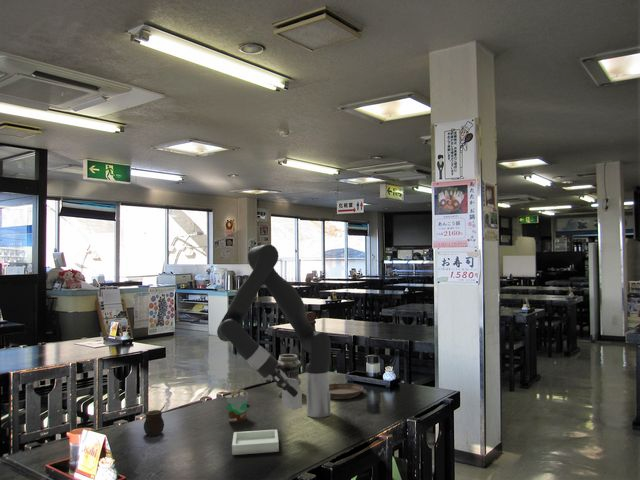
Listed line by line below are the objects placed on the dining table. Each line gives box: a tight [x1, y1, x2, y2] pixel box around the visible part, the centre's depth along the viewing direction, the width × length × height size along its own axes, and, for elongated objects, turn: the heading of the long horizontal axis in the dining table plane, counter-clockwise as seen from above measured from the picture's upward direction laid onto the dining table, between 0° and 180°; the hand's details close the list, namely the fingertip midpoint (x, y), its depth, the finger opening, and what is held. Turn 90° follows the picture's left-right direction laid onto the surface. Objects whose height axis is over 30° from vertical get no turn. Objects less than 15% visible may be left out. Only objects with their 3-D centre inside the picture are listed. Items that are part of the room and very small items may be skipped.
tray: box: [231, 428, 280, 456], centre depth 171 cm, size 15×13×3 cm
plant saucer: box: [329, 382, 364, 400], centre depth 235 cm, size 21×21×3 cm
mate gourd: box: [143, 405, 166, 437], centre depth 186 cm, size 7×8×10 cm
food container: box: [226, 389, 250, 424], centre depth 201 cm, size 12×6×10 cm, turn 168°
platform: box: [225, 389, 245, 399], centre depth 222 cm, size 12×18×7 cm, turn 131°
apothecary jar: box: [274, 353, 302, 397], centre depth 239 cm, size 12×12×18 cm
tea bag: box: [281, 377, 303, 410], centre depth 182 cm, size 4×7×10 cm, turn 43°
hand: (295, 392), depth 182 cm, fingers closed on tea bag, 7 cm apart
